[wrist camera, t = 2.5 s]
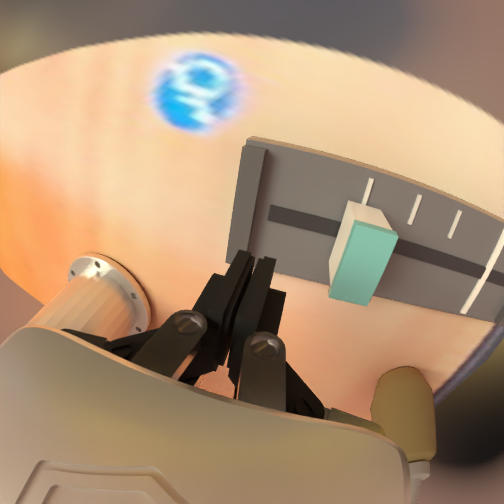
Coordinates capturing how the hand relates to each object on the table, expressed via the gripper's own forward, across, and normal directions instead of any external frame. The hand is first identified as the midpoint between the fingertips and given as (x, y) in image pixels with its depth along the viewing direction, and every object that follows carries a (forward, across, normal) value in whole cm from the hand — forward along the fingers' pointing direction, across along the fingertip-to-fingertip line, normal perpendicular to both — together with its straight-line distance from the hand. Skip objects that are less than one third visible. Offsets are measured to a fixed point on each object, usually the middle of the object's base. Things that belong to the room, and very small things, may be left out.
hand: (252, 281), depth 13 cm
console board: (+12, -12, +1) cm, 17 cm away
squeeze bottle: (+12, -20, +19) cm, 30 cm away
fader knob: (+9, -6, +1) cm, 11 cm away
